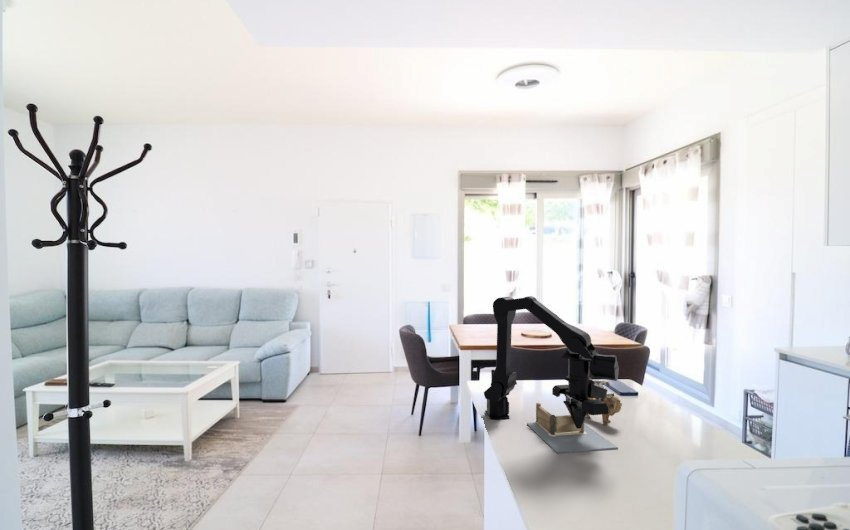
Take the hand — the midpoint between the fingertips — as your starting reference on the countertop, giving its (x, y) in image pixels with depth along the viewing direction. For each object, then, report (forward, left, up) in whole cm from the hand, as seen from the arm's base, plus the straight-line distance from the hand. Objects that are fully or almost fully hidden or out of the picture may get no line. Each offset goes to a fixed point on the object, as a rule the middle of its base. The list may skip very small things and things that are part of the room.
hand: (578, 428), depth 111 cm
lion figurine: (+15, +11, -3) cm, 18 cm away
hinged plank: (-1, +2, -2) cm, 3 cm away
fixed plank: (-7, +7, -3) cm, 10 cm away
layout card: (-2, +2, -3) cm, 4 cm away
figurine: (+25, +33, -3) cm, 41 cm away
